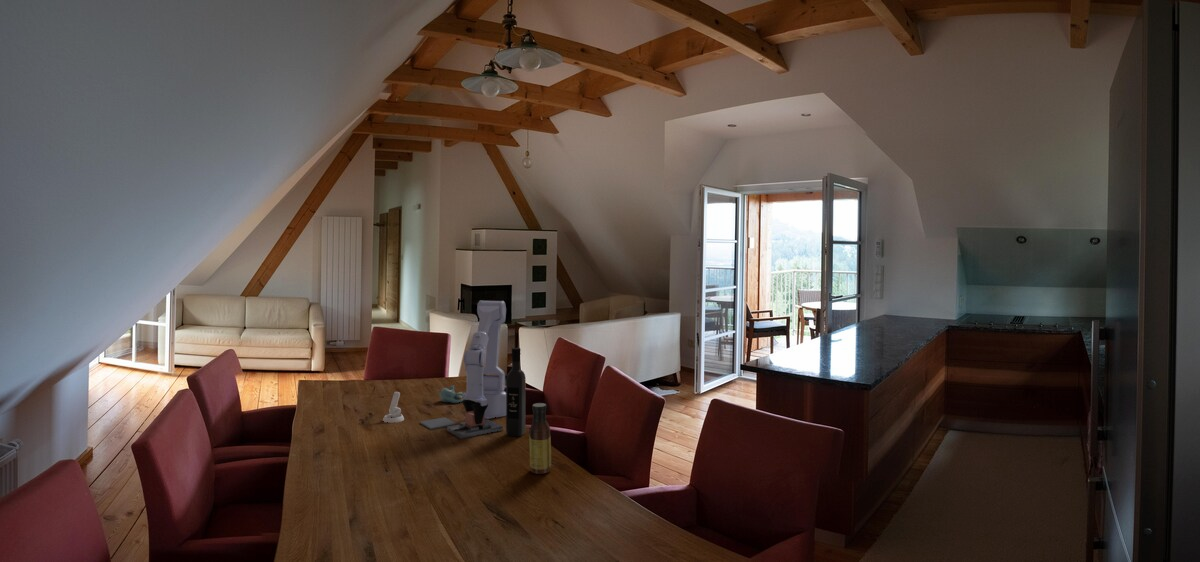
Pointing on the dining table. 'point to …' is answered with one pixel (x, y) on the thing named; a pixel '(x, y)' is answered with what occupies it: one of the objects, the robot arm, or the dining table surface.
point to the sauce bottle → (539, 441)
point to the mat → (438, 423)
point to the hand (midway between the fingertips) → (474, 421)
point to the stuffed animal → (450, 395)
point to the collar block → (472, 419)
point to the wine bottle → (515, 397)
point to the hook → (394, 410)
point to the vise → (474, 429)
